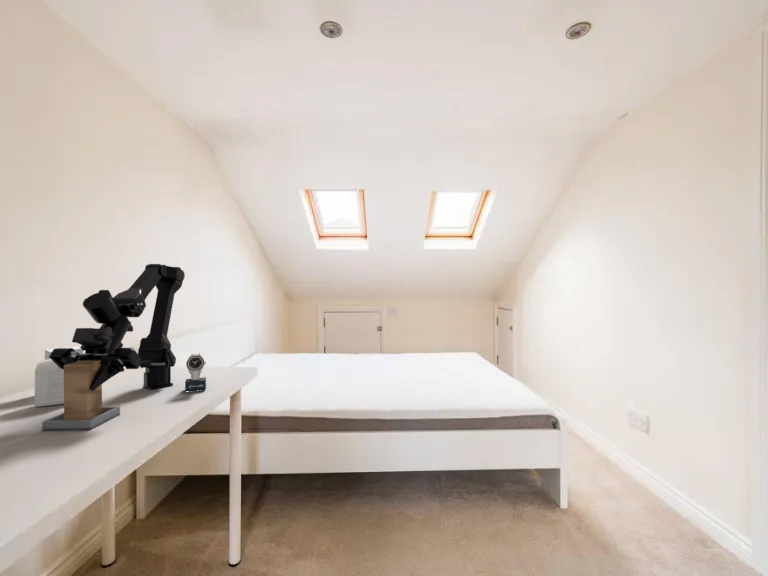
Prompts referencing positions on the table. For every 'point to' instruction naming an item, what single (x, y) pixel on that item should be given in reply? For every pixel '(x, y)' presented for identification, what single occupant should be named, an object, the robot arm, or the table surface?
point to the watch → (195, 373)
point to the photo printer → (48, 384)
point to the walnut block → (81, 391)
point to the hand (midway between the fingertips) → (79, 389)
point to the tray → (80, 421)
